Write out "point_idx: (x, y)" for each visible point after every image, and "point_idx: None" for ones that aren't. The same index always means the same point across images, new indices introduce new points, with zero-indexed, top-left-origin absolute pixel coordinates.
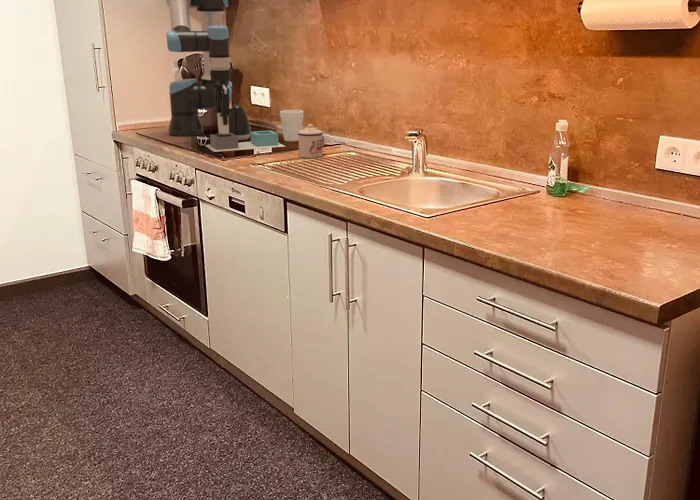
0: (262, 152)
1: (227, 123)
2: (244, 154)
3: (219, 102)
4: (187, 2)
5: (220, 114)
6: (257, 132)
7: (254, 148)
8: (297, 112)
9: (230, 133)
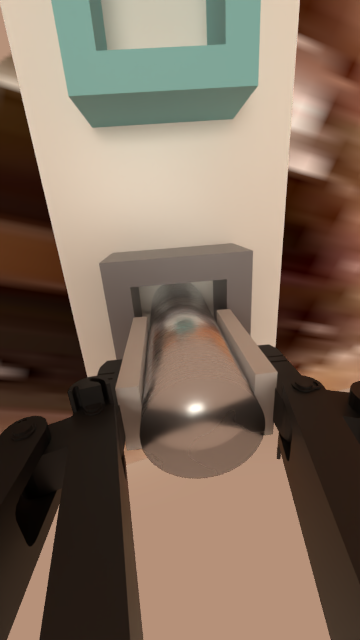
0: (292, 111)
1: (278, 350)
2: (298, 227)
3: (138, 611)
4: None
5: (249, 448)
6: (92, 23)
7: (282, 155)
8: None
9: (115, 276)
